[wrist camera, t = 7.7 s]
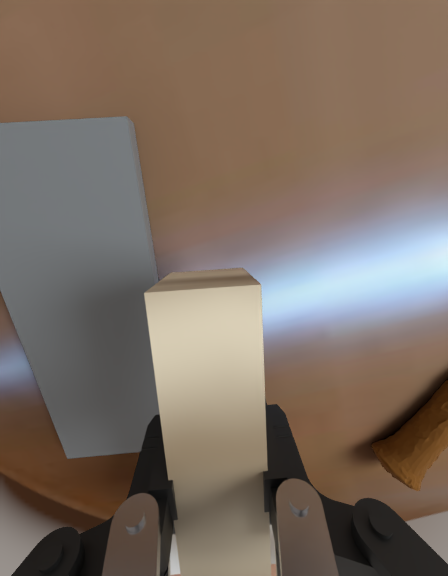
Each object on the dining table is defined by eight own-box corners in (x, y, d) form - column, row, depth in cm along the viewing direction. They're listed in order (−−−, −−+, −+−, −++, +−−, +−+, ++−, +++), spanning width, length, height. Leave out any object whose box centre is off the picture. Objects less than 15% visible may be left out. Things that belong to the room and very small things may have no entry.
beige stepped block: (134, 275, 10) (84, 297, 6) (278, 265, 10) (318, 280, 6) (172, 554, 13) (154, 690, 9) (284, 543, 13) (314, 671, 9)
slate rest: (-43, 132, 11) (-66, 126, 10) (133, 123, 11) (126, 116, 11) (74, 445, 18) (67, 458, 17) (183, 435, 18) (181, 448, 17)
